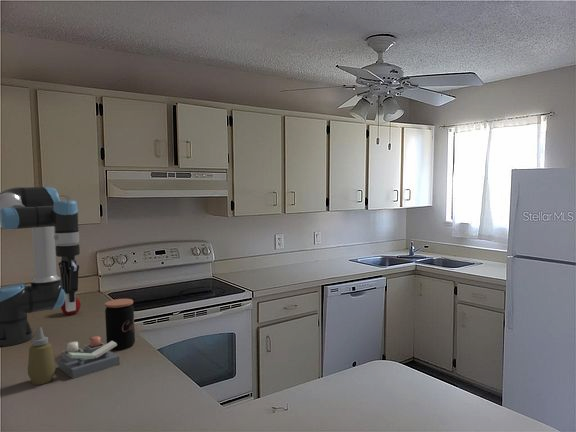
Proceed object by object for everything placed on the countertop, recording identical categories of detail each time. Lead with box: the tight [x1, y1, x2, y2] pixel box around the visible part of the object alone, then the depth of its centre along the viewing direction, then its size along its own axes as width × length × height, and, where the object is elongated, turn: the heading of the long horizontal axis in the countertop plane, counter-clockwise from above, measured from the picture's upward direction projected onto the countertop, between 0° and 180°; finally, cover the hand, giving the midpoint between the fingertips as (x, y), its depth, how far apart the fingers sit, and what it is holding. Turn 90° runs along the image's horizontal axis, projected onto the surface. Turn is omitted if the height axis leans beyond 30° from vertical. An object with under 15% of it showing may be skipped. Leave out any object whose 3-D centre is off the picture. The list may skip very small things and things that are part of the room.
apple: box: [60, 296, 82, 316], centre depth 225 cm, size 9×9×10 cm
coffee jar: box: [104, 298, 136, 351], centre depth 176 cm, size 11×11×18 cm
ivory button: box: [66, 341, 80, 354], centre depth 156 cm, size 4×4×3 cm
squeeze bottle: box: [27, 326, 56, 385], centre depth 144 cm, size 8×8×18 cm
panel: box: [57, 341, 121, 379], centre depth 157 cm, size 14×16×6 cm
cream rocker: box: [91, 341, 117, 358], centre depth 158 cm, size 4×8×2 cm, turn 136°
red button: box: [89, 335, 102, 348], centre depth 162 cm, size 4×4×3 cm
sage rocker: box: [67, 352, 95, 361], centre depth 152 cm, size 4×8×2 cm, turn 136°
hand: (70, 310), depth 155 cm, fingers closed
